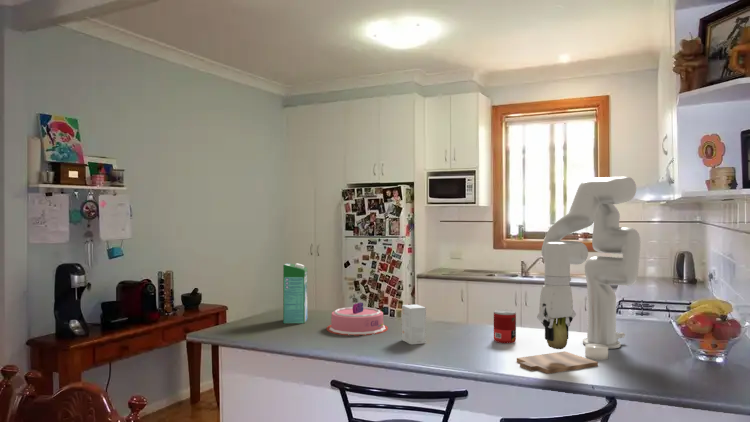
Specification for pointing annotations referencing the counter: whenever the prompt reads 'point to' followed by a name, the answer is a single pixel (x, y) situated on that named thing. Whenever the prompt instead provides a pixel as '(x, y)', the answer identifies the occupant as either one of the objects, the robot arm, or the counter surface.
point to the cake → (357, 321)
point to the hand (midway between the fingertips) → (556, 338)
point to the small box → (414, 324)
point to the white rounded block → (596, 351)
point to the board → (555, 362)
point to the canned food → (504, 326)
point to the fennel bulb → (559, 334)
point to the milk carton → (294, 293)
